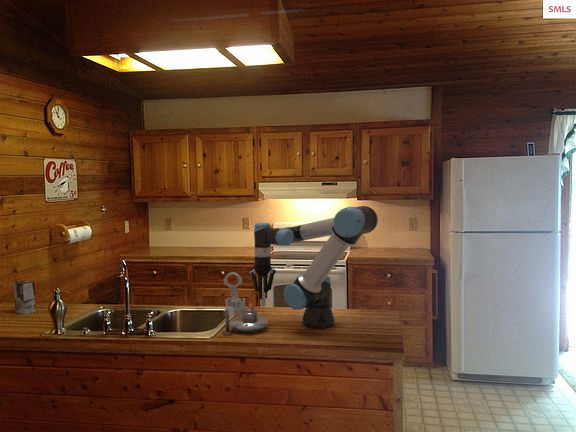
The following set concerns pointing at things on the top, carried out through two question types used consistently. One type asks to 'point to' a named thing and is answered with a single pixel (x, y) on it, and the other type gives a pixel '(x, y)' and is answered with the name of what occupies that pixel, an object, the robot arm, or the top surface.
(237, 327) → the turntable
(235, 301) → the engine component
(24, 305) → the coffee box
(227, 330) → the dial stand
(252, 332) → the turntable base
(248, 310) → the cover
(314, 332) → the top surface
